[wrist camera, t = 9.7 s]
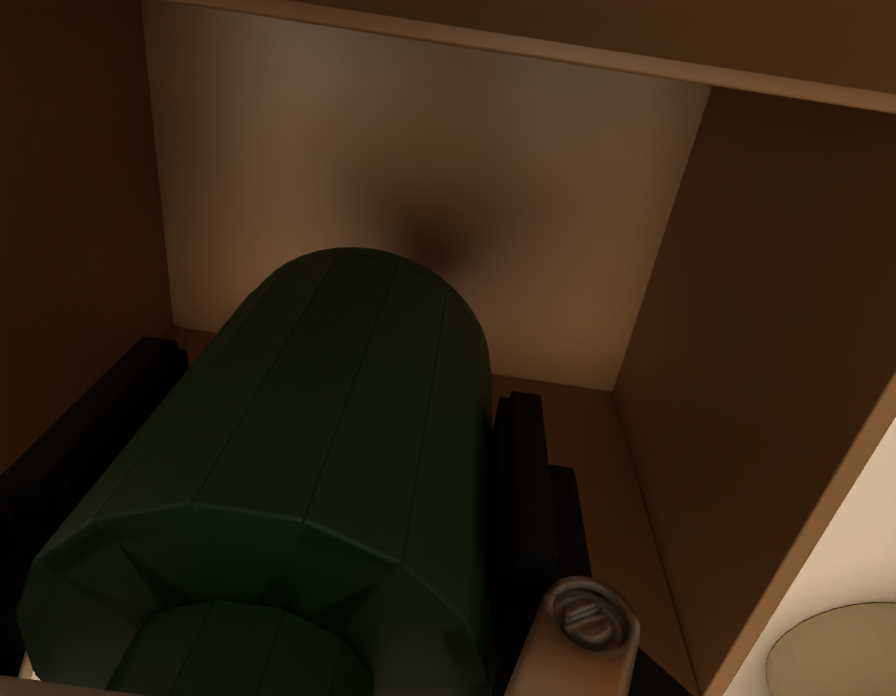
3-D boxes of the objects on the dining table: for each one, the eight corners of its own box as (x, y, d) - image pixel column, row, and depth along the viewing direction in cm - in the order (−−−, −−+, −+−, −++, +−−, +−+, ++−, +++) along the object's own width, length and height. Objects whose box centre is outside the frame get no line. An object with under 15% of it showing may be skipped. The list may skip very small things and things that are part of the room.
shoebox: (128, -59, 18) (-419, -128, 7) (737, 36, 18) (1089, 107, 7) (169, 328, 24) (-87, 596, 14) (618, 395, 25) (713, 711, 14)
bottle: (233, 226, 13) (-534, 913, 3) (512, 268, 13) (560, 1066, 3) (242, 445, 16) (-149, 1148, 6) (470, 479, 16) (430, 1226, 6)
